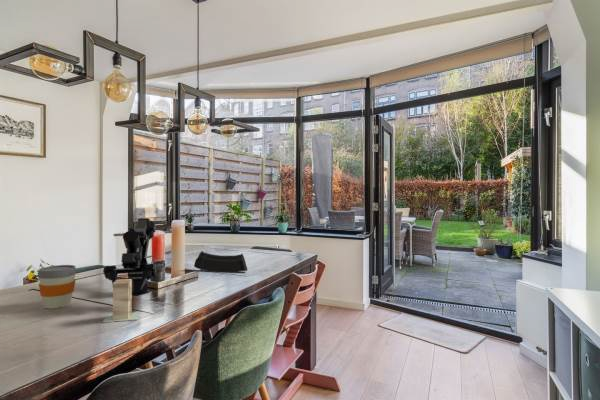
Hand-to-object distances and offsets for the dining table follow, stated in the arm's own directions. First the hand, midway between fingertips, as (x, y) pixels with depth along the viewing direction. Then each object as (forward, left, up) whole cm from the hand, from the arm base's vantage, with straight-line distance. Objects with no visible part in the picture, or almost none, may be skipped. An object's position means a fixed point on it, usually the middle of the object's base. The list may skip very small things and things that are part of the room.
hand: (127, 290), depth 134 cm
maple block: (+6, -6, -8) cm, 11 cm away
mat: (+6, -6, -8) cm, 11 cm away
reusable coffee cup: (-29, -11, -8) cm, 32 cm away
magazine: (-17, +69, -8) cm, 72 cm away
